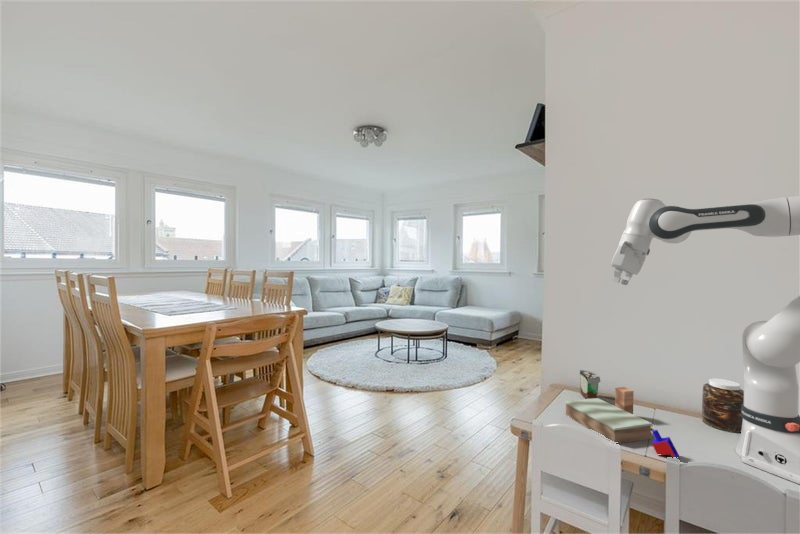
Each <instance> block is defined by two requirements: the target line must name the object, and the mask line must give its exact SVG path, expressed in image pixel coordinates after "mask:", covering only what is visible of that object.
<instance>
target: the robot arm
mask: <svg viewBox="0 0 800 534" xmlns="http://www.w3.org/2000/svg"><path fill="white" fill-rule="evenodd" d="M720 229H721V230H722V229H733V230H739V231H742V232H746V233H747V234H749V235H752V236H755V237H768V238H773V237H775V238H776V237H790V236H791V237H792V236H800V195H790V196H782V197H775V198H770V199H763V200H758V201H754V202H749V203H742V204H737V205H727V206H717V207H715V206H714V207H707V208H706V207H705V208H704V207H703V208H685V207H681V206H676V205H666V204H665V203H664V202H663V201H662V200H660V199H655V198H643V199H639V200H638V201H636V202H635V203H634V205H633V206H632V208H631V210H630V212H629V215H628V218H627V221H626V226H625V229H624V231H623V232H622V233H621V234H622V235H621V237H620V239H619V243H618V245H617V248H616V250H615V253H614V255H613V257H612V260H611V262H610V263H611V264H610V265H611V267H613V268H614V270H613V278H612V282H613V283H617V284H618V283H620V284H621V285H624V286H628V285H629V282H630V280H631V278H633V275H638V274H639V273H640V272H641V270H642V268H643V265H644V264H645V261H646V257H648V256H649V255H650V253H651V248H650V246H651V242H652V240H653V239H657V240H660V241H662V242H663V243H665V244H666V243H667V244H679V243H681V242H684V241H685V240H687V239H688V238H689V236H690V235H691V233H692V232H695V231H706V230H707V231H708V230H720ZM623 272H625V273H624V276H623V278H621V277H622V274H623ZM621 279H622V280H621ZM620 281H621V282H620ZM741 336H742V340H741V341H742V366H743V367H742V368H743V370H742V371H743V391H744V403H743V404H742V407H741V418H742V429H741V433H739V434H740V435H739V437H738V442H737V444H736V447H735V449H734V450H735V453H736V454H737V455H738V456H739V457H740V461H741V462H742V463H745V464H747V465H749V466H752V467H754V468H757V469H759V470H762V471H764V472H767V473H770V474H771V475H773V476H774V475H775V476H778V477H780V478H783V479H785V480H788V481H790V482H792V483H795V484H798V485H800V415H799V390H800V389H799V388H800V387H799V381H798V376H797V366H796V365H798V364H799V363H800V295H798V296H797V297H795V298H794V299H793V300H791V301H789V303H788V304H787V305H786V306H785V307H784V308H782V309H781V311H779V312H778V313H776V314H775V315H774V316H772V317H771V318H770V319H769V320H759V321H755V322H752V323H750V324H749V325H747V326H746V327H745V328H744V330H743V333H742V335H741Z"/></svg>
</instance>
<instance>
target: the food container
mask: <svg viewBox="0 0 800 534" xmlns="http://www.w3.org/2000/svg"><path fill="white" fill-rule="evenodd" d="M599 383H601V377H600V375H599V374H598V373H596V372H593V371H590V370H584V369H580V370H579V385H580V386H579V390H580V391H579V393H580V395H581V397H582V396H583V397H584V398H585V399H593V398H598V393H599ZM583 397H582V398H583ZM584 398H583V399H584Z"/></svg>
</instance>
